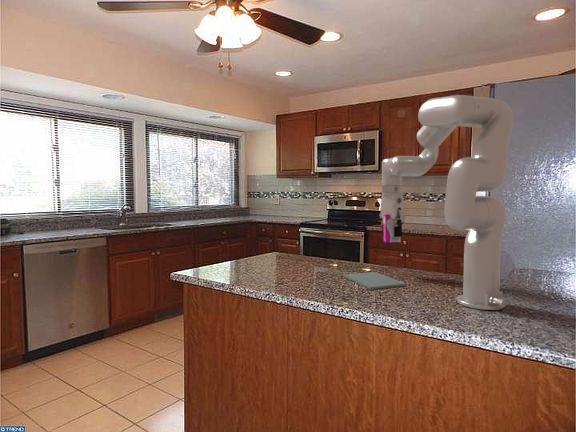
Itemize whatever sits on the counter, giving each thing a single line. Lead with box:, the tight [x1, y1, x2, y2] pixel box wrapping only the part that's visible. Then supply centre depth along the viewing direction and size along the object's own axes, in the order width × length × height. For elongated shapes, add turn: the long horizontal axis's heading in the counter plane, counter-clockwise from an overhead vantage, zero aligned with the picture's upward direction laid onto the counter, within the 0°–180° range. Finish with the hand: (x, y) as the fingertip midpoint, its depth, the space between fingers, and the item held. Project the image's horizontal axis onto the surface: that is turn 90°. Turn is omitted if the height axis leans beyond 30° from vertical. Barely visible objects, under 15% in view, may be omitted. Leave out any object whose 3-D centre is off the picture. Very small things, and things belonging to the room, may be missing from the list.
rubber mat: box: [343, 271, 407, 290], centre depth 141 cm, size 20×14×1 cm
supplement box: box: [383, 214, 402, 245], centre depth 150 cm, size 6×6×12 cm
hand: (391, 235), depth 150 cm, fingers closed on supplement box, 7 cm apart
